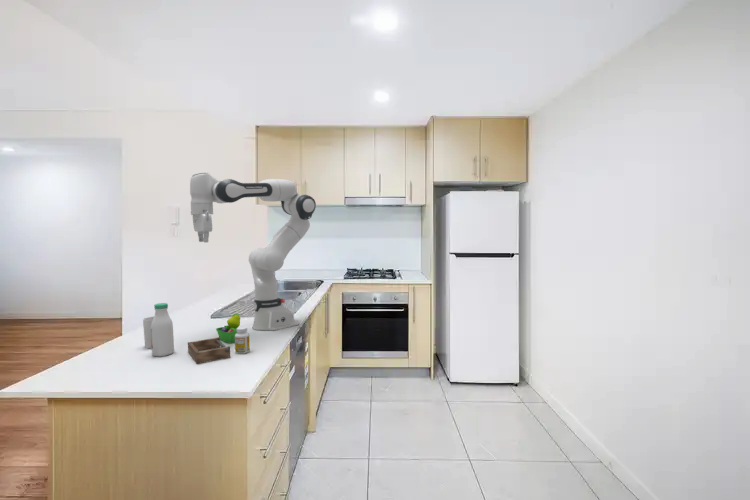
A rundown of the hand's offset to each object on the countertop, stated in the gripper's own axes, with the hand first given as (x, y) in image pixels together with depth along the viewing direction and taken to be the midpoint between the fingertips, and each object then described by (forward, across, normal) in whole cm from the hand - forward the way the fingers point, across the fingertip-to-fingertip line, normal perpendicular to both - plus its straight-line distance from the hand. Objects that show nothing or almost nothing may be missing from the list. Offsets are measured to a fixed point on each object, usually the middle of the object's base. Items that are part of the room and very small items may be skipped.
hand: (203, 242), depth 171 cm
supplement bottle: (+44, -27, -7) cm, 52 cm away
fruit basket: (+44, -7, -8) cm, 45 cm away
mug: (+44, +5, +20) cm, 48 cm away
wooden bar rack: (+43, -23, +5) cm, 49 cm away
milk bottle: (+44, -10, +19) cm, 48 cm away
